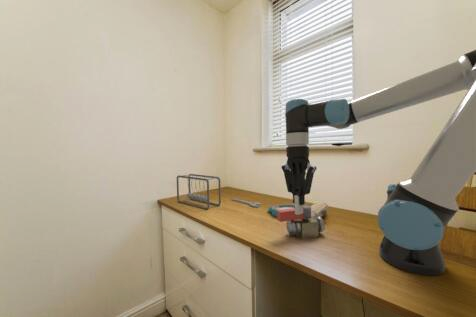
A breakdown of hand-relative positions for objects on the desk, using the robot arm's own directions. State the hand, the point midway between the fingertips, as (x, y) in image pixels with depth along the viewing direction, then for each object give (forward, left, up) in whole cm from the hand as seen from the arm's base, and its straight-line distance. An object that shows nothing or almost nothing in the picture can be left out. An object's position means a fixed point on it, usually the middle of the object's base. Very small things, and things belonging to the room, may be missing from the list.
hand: (299, 213), depth 71 cm
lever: (+8, -3, -5) cm, 10 cm away
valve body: (+9, -8, -12) cm, 16 cm away
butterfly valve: (+29, -15, -12) cm, 35 cm away
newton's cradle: (+66, +32, -12) cm, 74 cm away
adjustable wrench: (+60, +3, -12) cm, 61 cm away
